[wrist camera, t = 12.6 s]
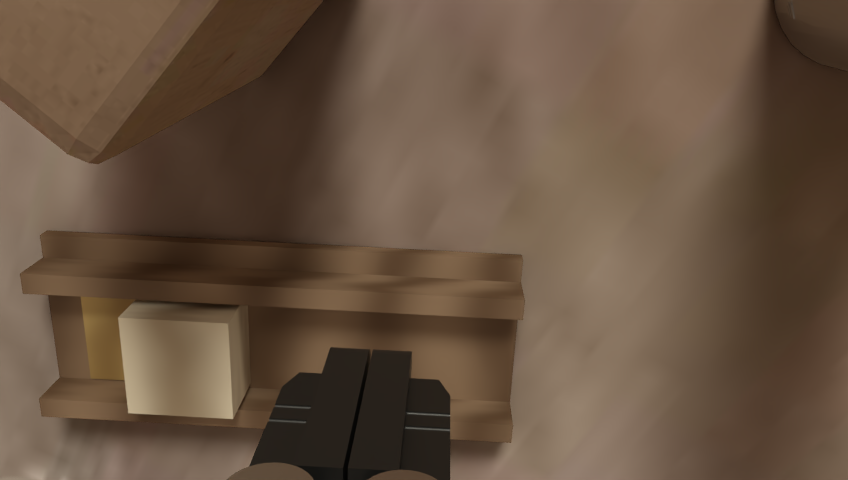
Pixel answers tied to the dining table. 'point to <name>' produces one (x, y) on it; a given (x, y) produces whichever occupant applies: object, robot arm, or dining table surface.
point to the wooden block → (133, 63)
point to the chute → (286, 317)
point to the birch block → (185, 358)
